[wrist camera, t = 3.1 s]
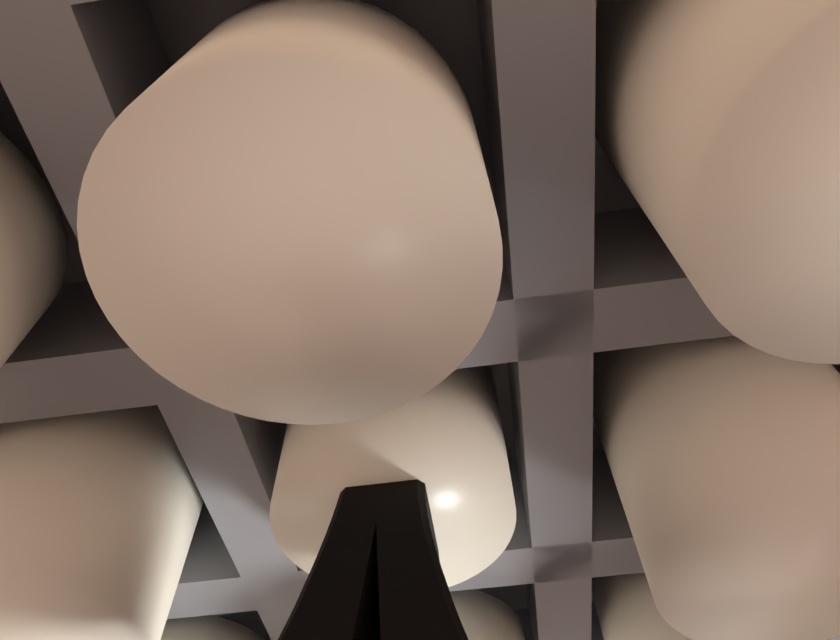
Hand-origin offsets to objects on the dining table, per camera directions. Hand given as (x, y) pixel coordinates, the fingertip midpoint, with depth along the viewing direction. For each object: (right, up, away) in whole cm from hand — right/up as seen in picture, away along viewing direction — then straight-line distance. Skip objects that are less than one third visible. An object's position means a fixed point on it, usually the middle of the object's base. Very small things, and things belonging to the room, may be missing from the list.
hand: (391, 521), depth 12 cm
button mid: (0, +2, +2) cm, 3 cm away
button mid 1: (-1, +6, -2) cm, 6 cm away
